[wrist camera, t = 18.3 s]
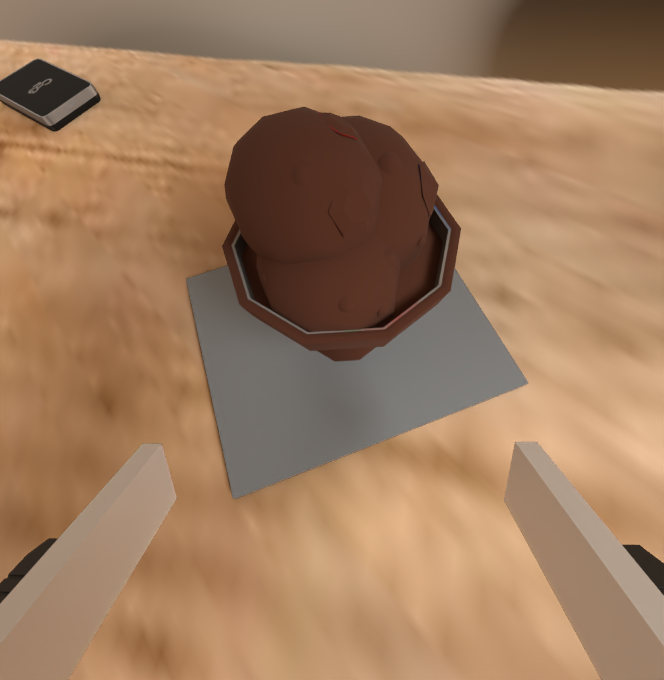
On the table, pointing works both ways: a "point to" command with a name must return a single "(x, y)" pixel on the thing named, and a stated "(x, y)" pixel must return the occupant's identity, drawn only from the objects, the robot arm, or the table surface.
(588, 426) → the table surface
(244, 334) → the grey mat
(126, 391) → the table surface
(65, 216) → the table surface
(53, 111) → the external hard drive
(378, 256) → the ice cream bowl
